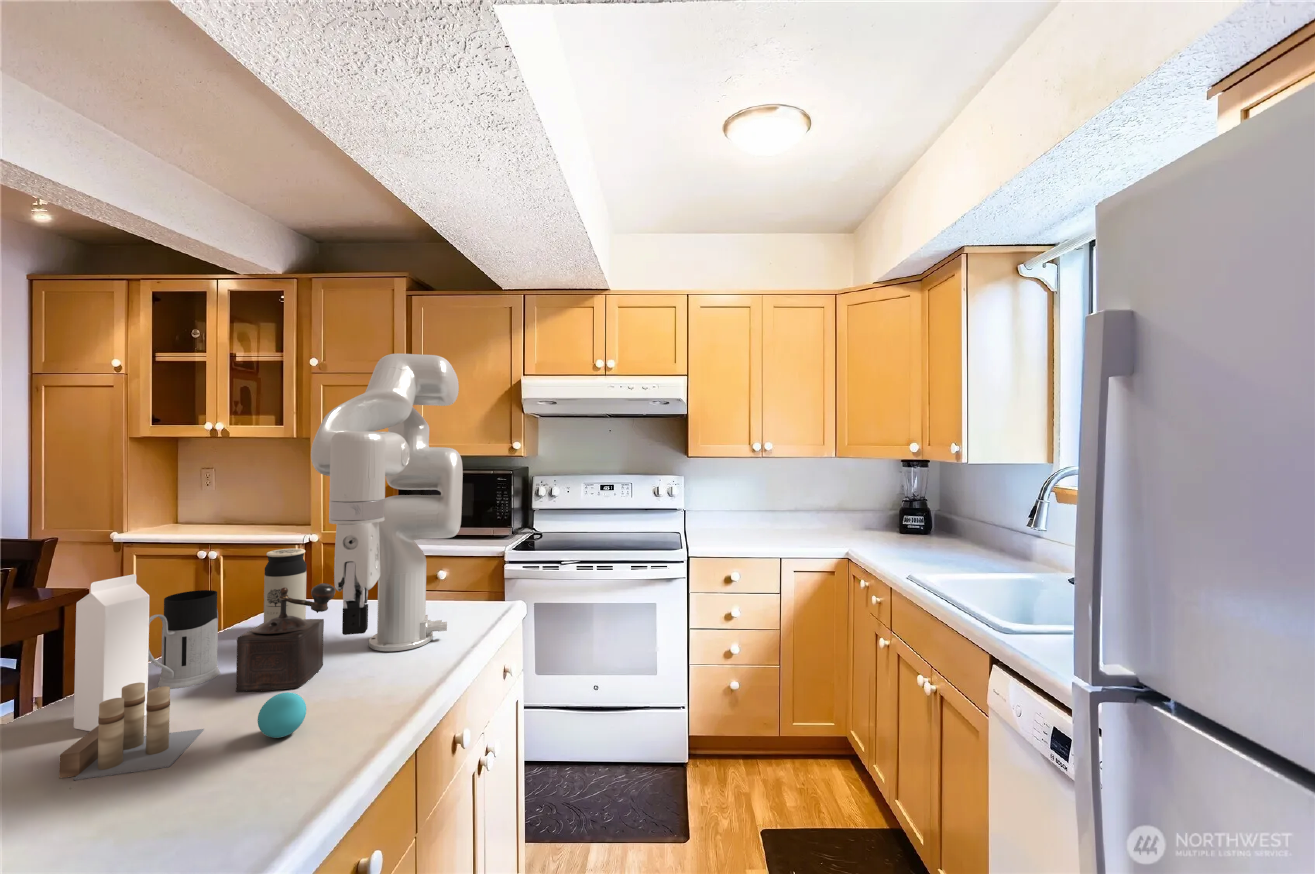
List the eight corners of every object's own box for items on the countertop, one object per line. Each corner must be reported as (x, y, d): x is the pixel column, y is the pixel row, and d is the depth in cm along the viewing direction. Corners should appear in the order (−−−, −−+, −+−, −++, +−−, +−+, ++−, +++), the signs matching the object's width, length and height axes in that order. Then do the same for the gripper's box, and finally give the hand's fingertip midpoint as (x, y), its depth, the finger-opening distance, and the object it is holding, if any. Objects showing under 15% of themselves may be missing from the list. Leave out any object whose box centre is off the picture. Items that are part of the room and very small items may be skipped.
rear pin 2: (147, 740, 81) (149, 681, 81) (138, 749, 79) (139, 688, 79) (126, 743, 80) (127, 683, 80) (115, 752, 78) (117, 690, 78)
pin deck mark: (203, 729, 84) (203, 728, 84) (169, 766, 75) (169, 765, 75) (120, 740, 81) (120, 738, 81) (73, 779, 72) (73, 778, 72)
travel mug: (283, 624, 133) (284, 547, 133) (313, 625, 132) (314, 548, 132) (254, 635, 125) (255, 554, 125) (286, 637, 124) (288, 555, 124)
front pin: (172, 745, 80) (174, 685, 80) (163, 754, 78) (164, 692, 78) (151, 748, 79) (152, 687, 79) (141, 757, 77) (142, 694, 77)
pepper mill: (230, 694, 96) (232, 588, 96) (265, 668, 107) (267, 573, 107) (328, 689, 98) (330, 586, 99) (352, 664, 109) (354, 571, 110)
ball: (310, 722, 87) (311, 683, 87) (299, 742, 81) (300, 700, 81) (265, 728, 85) (266, 688, 85) (250, 748, 79) (251, 706, 79)
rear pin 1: (127, 759, 76) (128, 696, 76) (116, 769, 74) (117, 704, 74) (104, 762, 76) (105, 698, 76) (92, 772, 73) (93, 707, 73)
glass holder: (231, 668, 107) (233, 589, 107) (169, 702, 93) (171, 611, 93) (184, 668, 107) (185, 589, 107) (114, 703, 92) (116, 611, 93)
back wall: (120, 740, 81) (121, 719, 81) (79, 775, 73) (79, 752, 73) (103, 742, 81) (103, 721, 81) (59, 778, 72) (59, 754, 72)
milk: (73, 729, 84) (74, 581, 84) (120, 710, 90) (121, 572, 90) (102, 734, 83) (104, 584, 83) (149, 714, 89) (150, 574, 89)
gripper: (376, 517, 80) (374, 646, 80) (391, 506, 95) (389, 616, 94) (316, 518, 78) (313, 652, 78) (340, 507, 92) (338, 620, 92)
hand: (355, 632), depth 86 cm, fingers closed
